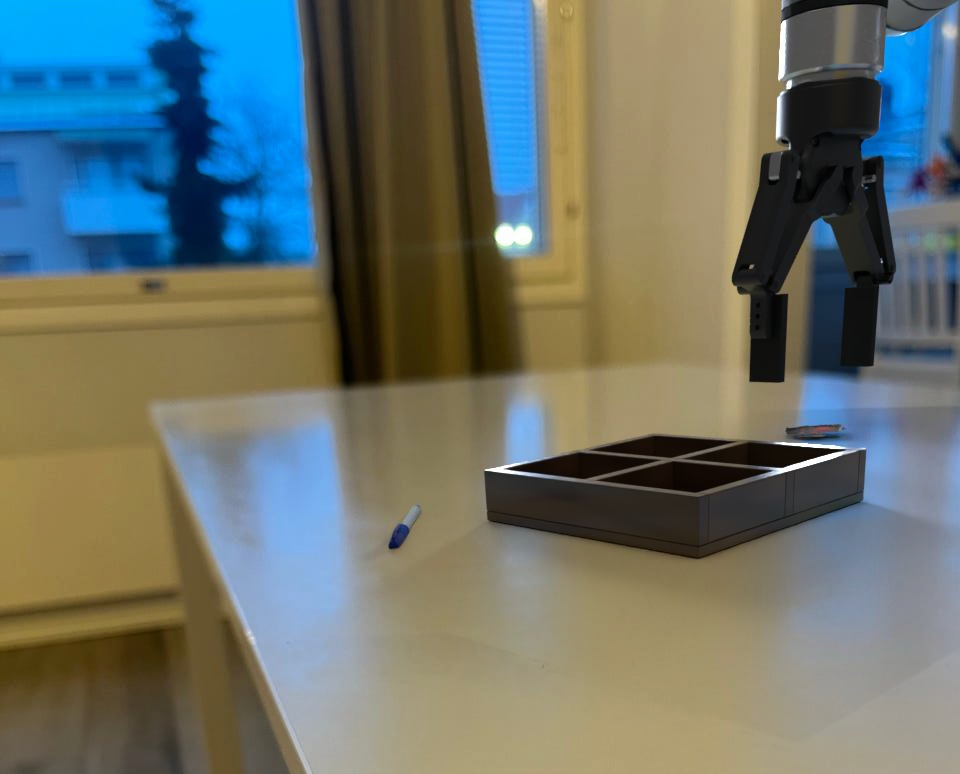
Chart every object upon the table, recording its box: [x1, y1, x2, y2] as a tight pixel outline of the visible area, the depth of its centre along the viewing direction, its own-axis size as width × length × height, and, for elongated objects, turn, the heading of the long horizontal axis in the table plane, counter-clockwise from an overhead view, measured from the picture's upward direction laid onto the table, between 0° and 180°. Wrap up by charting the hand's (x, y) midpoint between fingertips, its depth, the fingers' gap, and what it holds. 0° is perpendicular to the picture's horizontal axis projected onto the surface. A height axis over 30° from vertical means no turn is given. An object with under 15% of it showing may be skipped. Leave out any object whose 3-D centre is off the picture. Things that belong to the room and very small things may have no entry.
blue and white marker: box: [388, 504, 422, 550], centre depth 61 cm, size 10×1×1 cm, turn 177°
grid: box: [483, 432, 867, 559], centre depth 60 cm, size 16×16×3 cm
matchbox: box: [784, 423, 847, 438], centre depth 83 cm, size 5×5×1 cm
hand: (813, 374), depth 82 cm, fingers open, 13 cm apart
